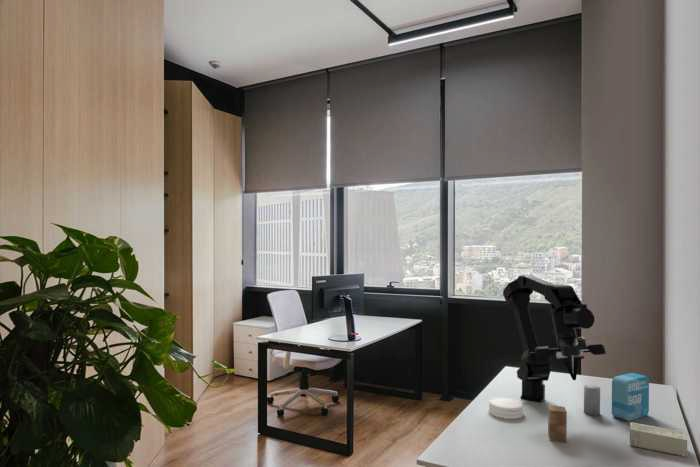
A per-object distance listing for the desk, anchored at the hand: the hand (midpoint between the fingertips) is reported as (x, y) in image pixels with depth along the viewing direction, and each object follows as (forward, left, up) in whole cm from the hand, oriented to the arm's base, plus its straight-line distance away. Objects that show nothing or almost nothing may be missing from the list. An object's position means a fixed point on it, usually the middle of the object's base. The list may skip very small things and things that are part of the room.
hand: (574, 379), depth 138 cm
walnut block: (-2, -18, -11) cm, 22 cm away
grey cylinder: (+4, +8, -11) cm, 14 cm away
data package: (+14, +12, -12) cm, 22 cm away
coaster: (-18, -7, -12) cm, 23 cm away
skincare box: (+14, -9, -9) cm, 19 cm away
